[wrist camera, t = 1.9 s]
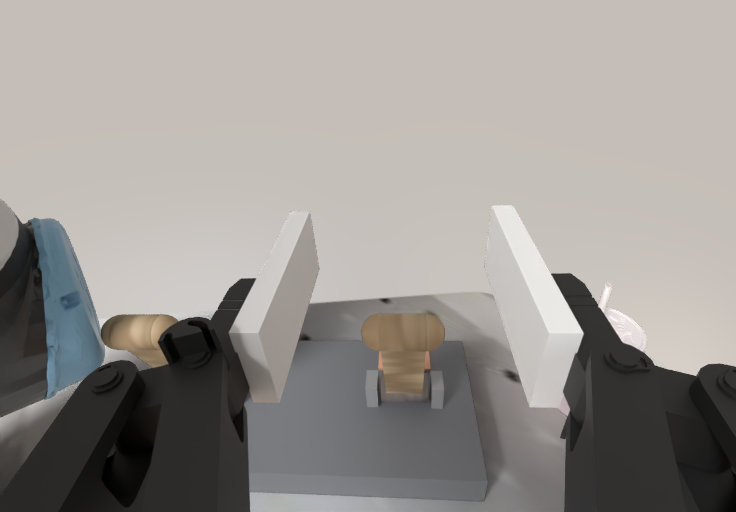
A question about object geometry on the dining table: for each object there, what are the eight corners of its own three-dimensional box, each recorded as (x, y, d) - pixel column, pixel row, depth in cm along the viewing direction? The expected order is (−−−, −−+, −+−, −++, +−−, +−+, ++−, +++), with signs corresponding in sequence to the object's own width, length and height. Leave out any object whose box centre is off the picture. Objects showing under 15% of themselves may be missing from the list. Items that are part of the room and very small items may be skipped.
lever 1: (181, 401, 36) (85, 340, 25) (190, 375, 37) (102, 308, 27) (237, 402, 36) (163, 341, 25) (243, 376, 37) (176, 308, 26)
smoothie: (532, 372, 40) (561, 259, 32) (600, 378, 39) (647, 263, 31) (545, 429, 34) (583, 311, 27) (624, 439, 33) (687, 318, 26)
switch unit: (121, 486, 33) (91, 450, 30) (194, 358, 44) (178, 323, 41) (483, 501, 30) (491, 462, 27) (460, 361, 42) (463, 323, 39)
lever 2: (374, 404, 34) (358, 341, 24) (375, 378, 36) (360, 307, 25) (435, 406, 34) (448, 342, 23) (434, 378, 35) (445, 306, 25)
